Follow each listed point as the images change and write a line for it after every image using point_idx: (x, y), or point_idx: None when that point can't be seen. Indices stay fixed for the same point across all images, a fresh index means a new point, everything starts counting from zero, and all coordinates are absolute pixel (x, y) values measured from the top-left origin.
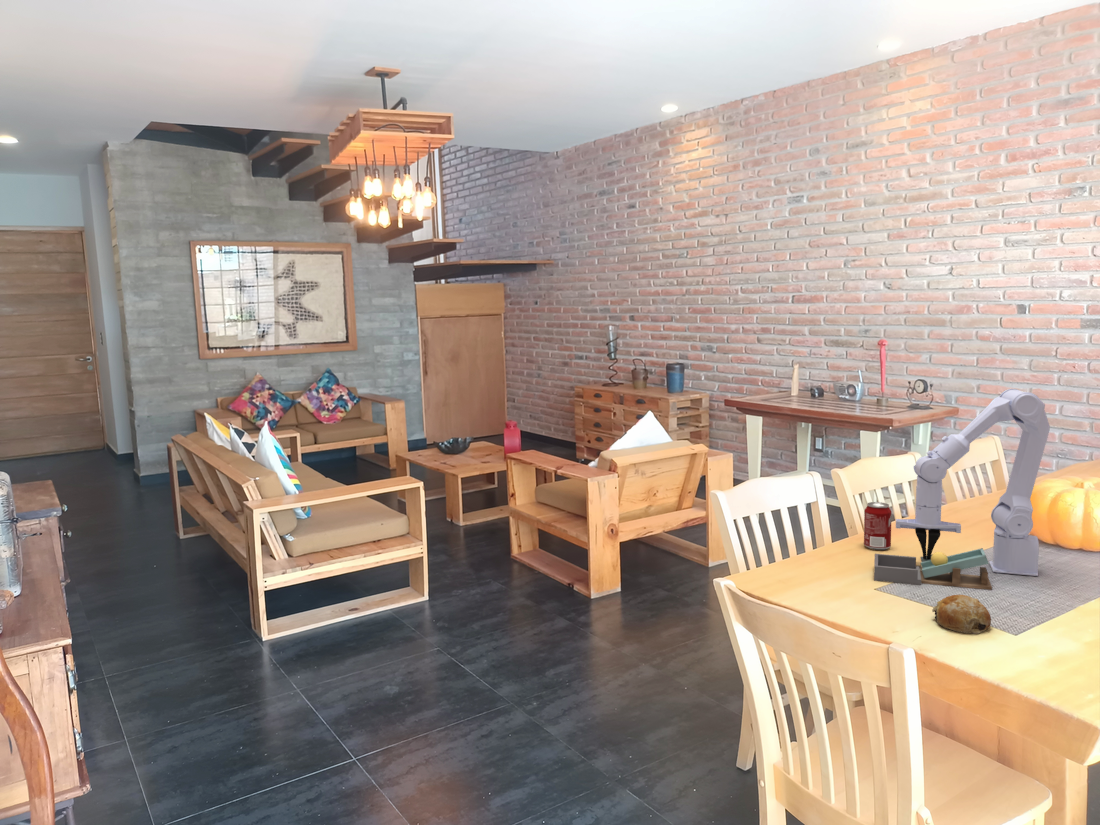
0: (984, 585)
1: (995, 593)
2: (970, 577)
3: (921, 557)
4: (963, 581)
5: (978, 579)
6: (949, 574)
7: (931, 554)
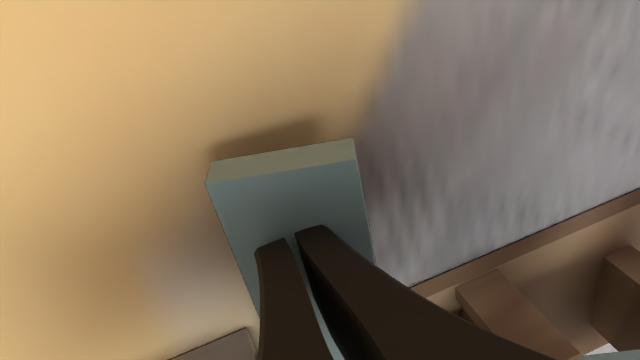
0: (596, 336)
1: (610, 350)
2: (560, 278)
3: (222, 204)
4: None
5: (592, 279)
6: (453, 310)
7: (336, 164)
